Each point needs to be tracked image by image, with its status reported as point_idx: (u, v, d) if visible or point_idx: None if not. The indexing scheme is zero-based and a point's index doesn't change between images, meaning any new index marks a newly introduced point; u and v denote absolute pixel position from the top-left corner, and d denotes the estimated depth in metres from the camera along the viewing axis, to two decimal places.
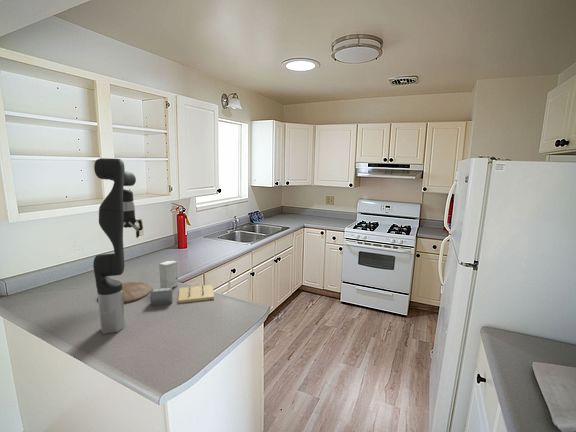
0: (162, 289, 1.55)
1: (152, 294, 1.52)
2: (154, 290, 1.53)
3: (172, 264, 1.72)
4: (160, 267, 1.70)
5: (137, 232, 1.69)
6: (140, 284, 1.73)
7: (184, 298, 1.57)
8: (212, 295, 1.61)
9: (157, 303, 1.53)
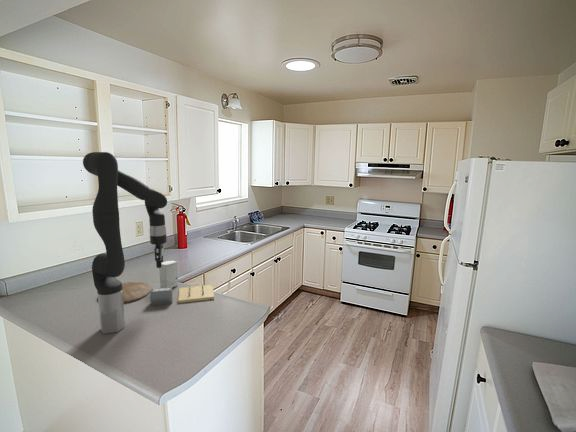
0: (162, 289, 1.55)
1: (152, 294, 1.52)
2: (154, 290, 1.53)
3: (172, 264, 1.72)
4: None
5: (162, 256, 1.56)
6: (140, 284, 1.73)
7: (184, 298, 1.57)
8: (212, 295, 1.61)
9: (157, 303, 1.53)
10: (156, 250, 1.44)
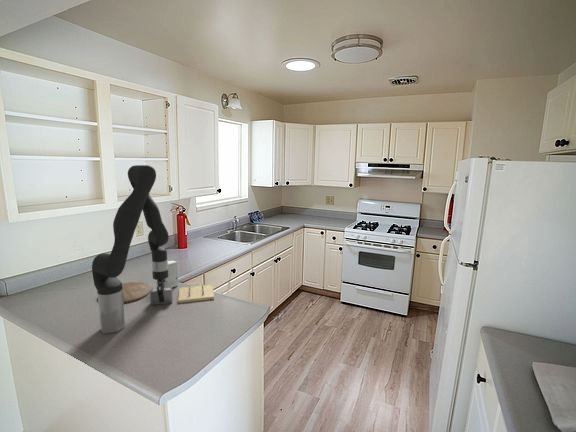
0: None
1: (152, 294, 1.52)
2: (154, 290, 1.53)
3: (172, 264, 1.72)
4: None
5: None
6: (140, 284, 1.73)
7: (184, 298, 1.57)
8: (212, 295, 1.61)
9: (157, 303, 1.53)
10: (158, 288, 1.48)
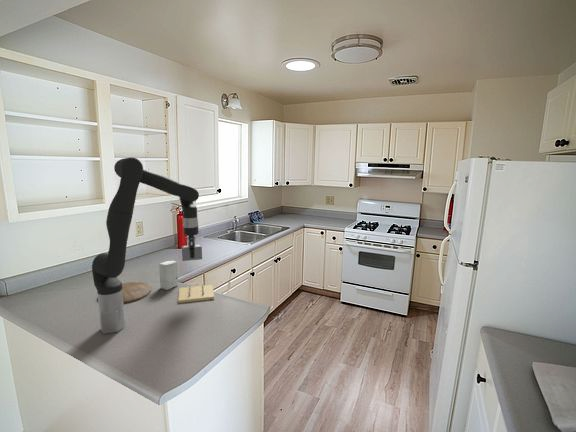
0: None
1: (183, 250, 1.57)
2: (185, 246, 1.59)
3: (172, 264, 1.72)
4: (160, 267, 1.70)
5: None
6: (140, 284, 1.73)
7: (184, 298, 1.57)
8: (212, 295, 1.61)
9: (188, 259, 1.59)
10: (190, 243, 1.53)
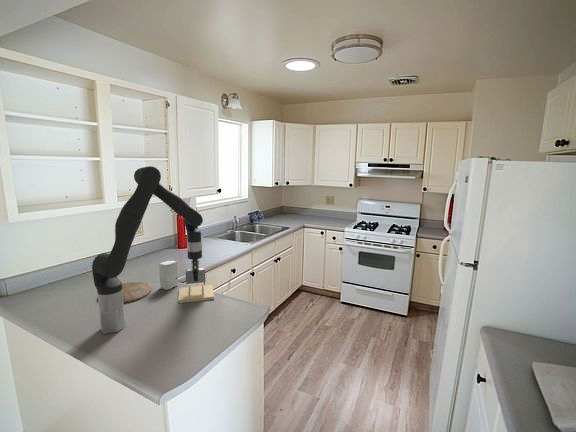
0: None
1: (187, 273, 1.60)
2: (189, 269, 1.61)
3: (172, 264, 1.72)
4: (160, 267, 1.70)
5: None
6: (140, 284, 1.73)
7: (184, 298, 1.57)
8: (212, 295, 1.61)
9: (191, 282, 1.61)
10: (194, 267, 1.56)
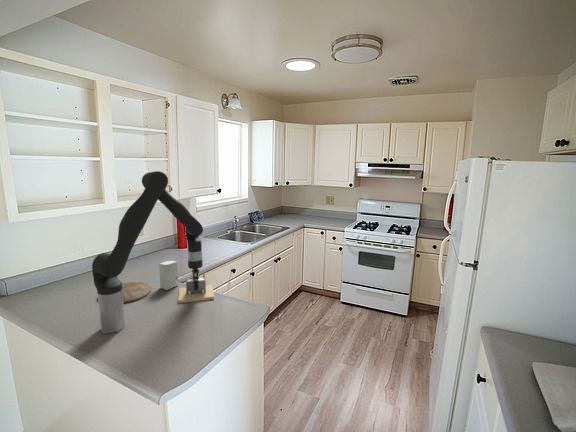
0: None
1: (187, 284, 1.61)
2: (189, 280, 1.63)
3: (172, 264, 1.72)
4: (160, 267, 1.70)
5: None
6: (140, 284, 1.73)
7: (184, 298, 1.57)
8: (212, 295, 1.61)
9: (192, 292, 1.62)
10: (194, 274, 1.56)
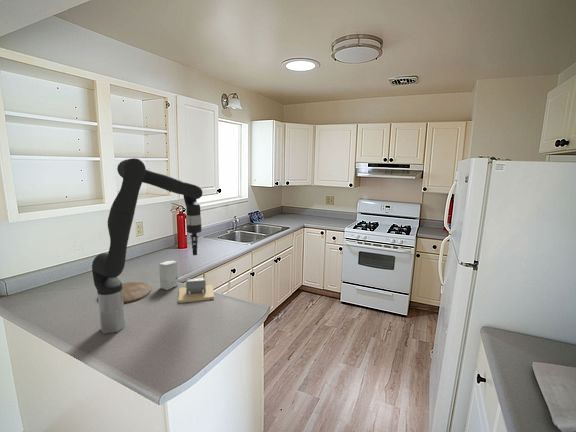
0: (196, 279, 1.64)
1: (187, 284, 1.61)
2: (189, 280, 1.63)
3: (172, 264, 1.72)
4: (160, 267, 1.70)
5: None
6: (140, 284, 1.73)
7: (184, 298, 1.57)
8: (212, 295, 1.61)
9: (192, 292, 1.62)
10: (193, 238, 1.53)
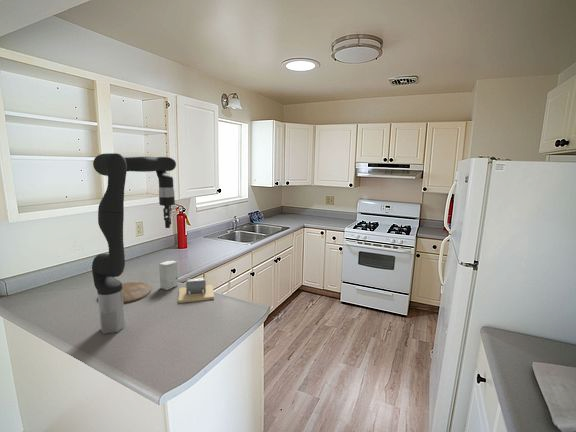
0: (196, 279, 1.64)
1: (187, 284, 1.61)
2: (189, 280, 1.63)
3: (172, 264, 1.72)
4: (160, 267, 1.70)
5: None
6: (140, 284, 1.73)
7: (184, 298, 1.57)
8: (212, 295, 1.61)
9: (192, 292, 1.62)
10: (165, 210, 1.51)
